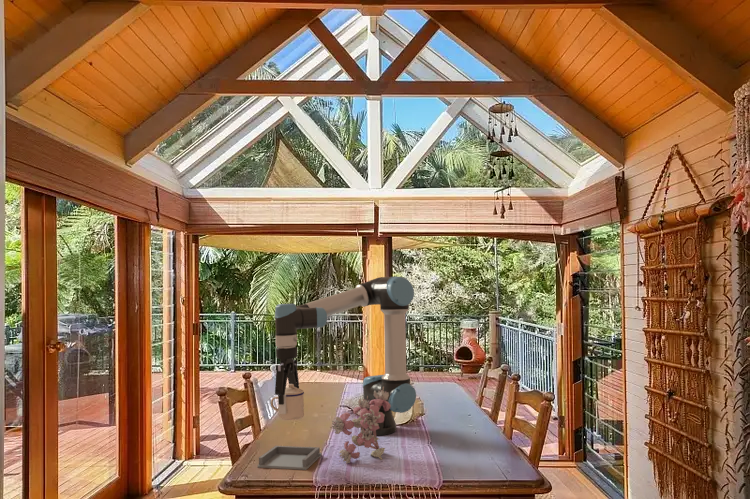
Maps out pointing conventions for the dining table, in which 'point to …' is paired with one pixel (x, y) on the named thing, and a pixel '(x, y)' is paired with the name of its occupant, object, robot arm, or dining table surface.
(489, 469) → the dining table surface
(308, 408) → the dining table surface
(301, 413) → the teacup with lid
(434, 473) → the dining table surface
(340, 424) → the flower
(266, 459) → the grey shallow square tray
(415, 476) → the dining table surface
